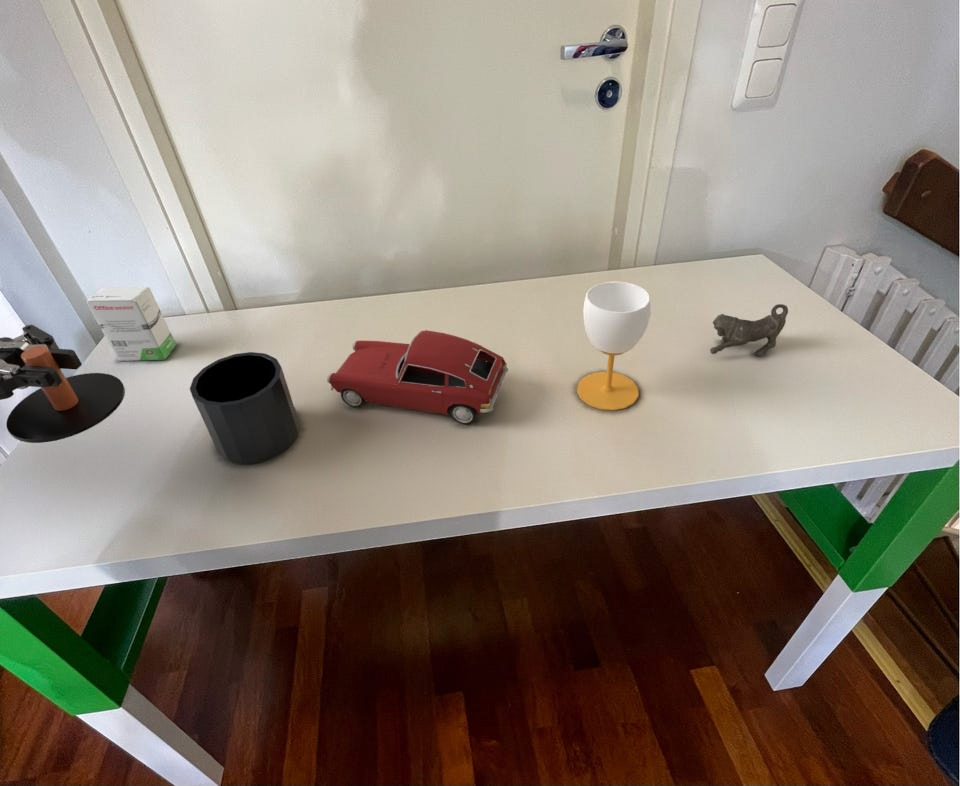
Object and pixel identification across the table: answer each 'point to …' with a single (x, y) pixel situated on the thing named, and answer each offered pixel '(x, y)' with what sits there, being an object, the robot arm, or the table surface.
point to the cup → (613, 340)
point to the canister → (246, 407)
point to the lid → (63, 403)
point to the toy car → (423, 375)
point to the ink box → (132, 323)
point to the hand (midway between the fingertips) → (66, 368)
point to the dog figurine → (749, 330)
